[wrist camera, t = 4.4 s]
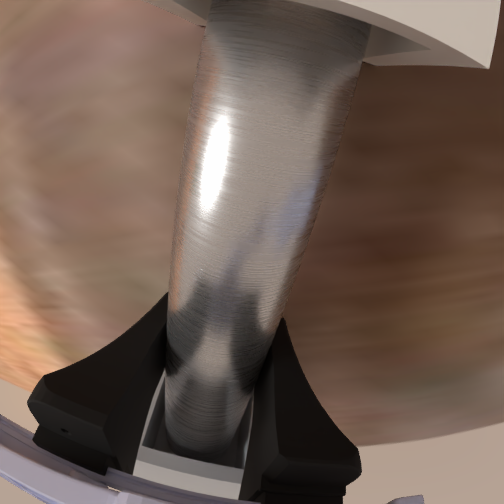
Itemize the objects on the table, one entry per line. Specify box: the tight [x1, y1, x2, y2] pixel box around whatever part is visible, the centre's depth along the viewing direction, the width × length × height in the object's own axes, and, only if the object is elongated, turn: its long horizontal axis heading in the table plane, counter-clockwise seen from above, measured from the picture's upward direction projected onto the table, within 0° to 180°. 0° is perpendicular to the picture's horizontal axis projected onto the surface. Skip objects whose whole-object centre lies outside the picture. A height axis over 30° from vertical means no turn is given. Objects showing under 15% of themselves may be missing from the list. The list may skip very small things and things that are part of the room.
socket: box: [133, 370, 254, 500], centre depth 16 cm, size 8×6×7 cm
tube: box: [165, 0, 372, 463], centre depth 10 cm, size 4×22×4 cm, turn 168°
